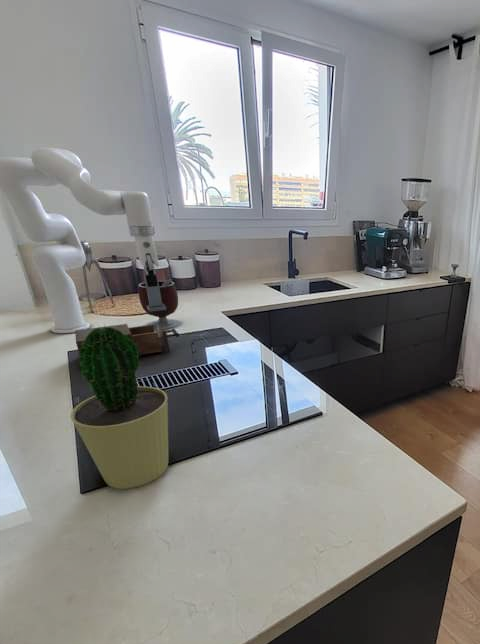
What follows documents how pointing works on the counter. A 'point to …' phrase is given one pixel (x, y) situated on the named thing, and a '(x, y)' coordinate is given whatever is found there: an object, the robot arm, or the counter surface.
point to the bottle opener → (154, 297)
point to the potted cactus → (121, 413)
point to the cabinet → (84, 332)
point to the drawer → (151, 338)
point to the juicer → (88, 264)
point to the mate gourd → (168, 300)
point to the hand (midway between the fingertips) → (152, 285)
